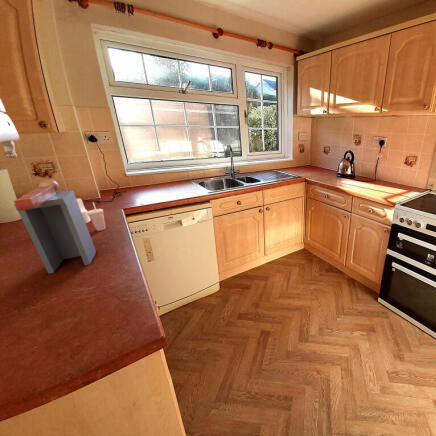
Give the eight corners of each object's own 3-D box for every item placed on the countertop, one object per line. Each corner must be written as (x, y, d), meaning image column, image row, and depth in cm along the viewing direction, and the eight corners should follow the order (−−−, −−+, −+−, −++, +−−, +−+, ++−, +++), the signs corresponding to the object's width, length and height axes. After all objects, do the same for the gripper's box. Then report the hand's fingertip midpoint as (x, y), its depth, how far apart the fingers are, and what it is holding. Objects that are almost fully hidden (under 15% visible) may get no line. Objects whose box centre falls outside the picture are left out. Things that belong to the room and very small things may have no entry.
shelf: (89, 265, 90) (63, 198, 81) (47, 274, 85) (13, 204, 76) (96, 251, 100) (73, 190, 91) (59, 258, 95) (30, 195, 86)
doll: (37, 208, 72) (30, 191, 70) (15, 211, 70) (6, 194, 68) (63, 190, 91) (57, 177, 89) (45, 192, 89) (39, 178, 87)
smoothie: (111, 228, 122) (102, 201, 117) (96, 232, 117) (86, 205, 112) (105, 225, 126) (96, 199, 120) (91, 230, 121) (81, 203, 116)
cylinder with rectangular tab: (81, 225, 127) (73, 203, 122) (64, 226, 127) (55, 204, 122) (94, 219, 135) (87, 198, 130) (78, 219, 135) (70, 198, 130)
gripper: (-16, 107, 70) (7, 156, 75) (-71, 102, 53) (-36, 166, 58) (14, 107, 72) (34, 154, 78) (-29, 102, 56) (0, 163, 61)
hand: (4, 159), depth 68 cm, fingers open, 8 cm apart
